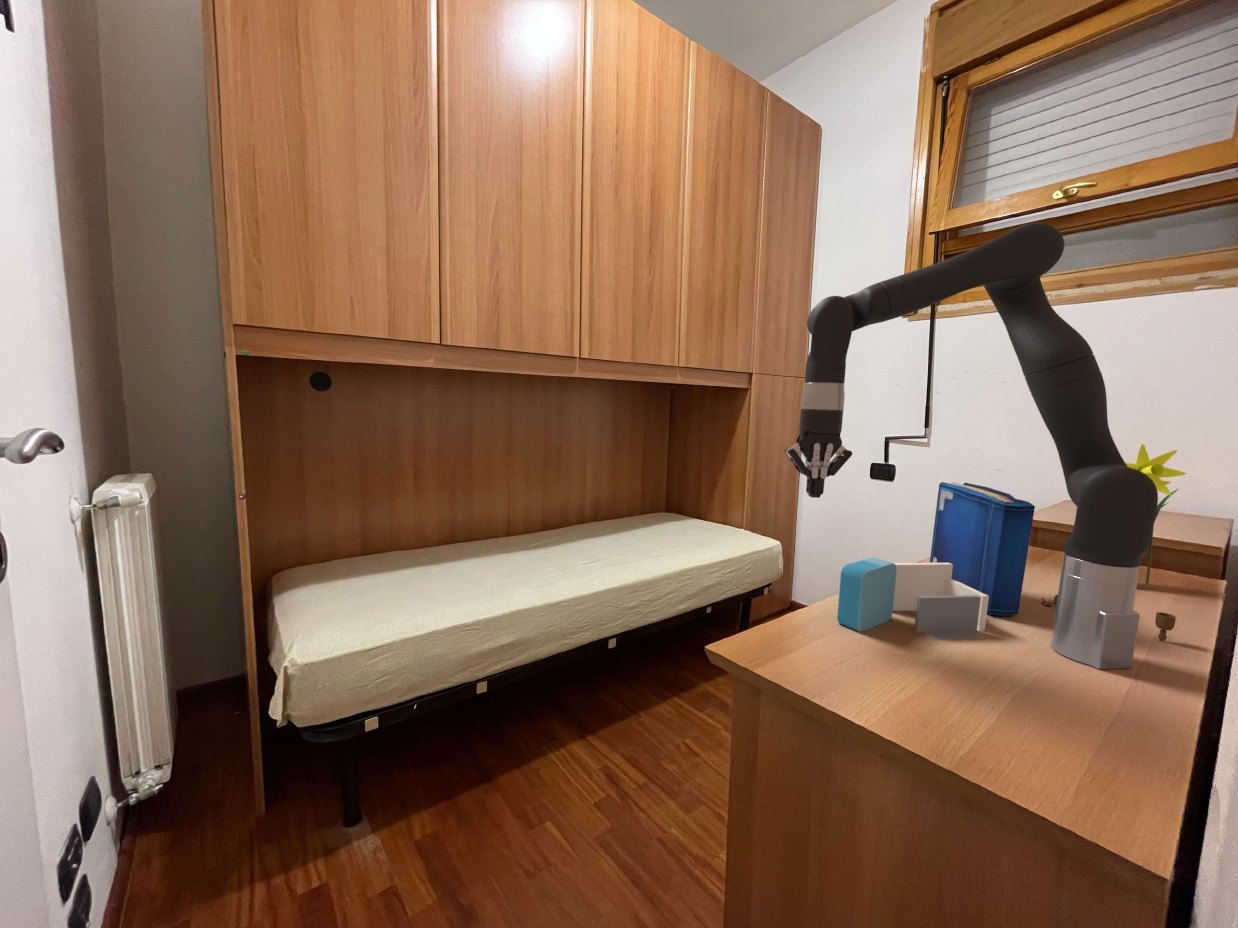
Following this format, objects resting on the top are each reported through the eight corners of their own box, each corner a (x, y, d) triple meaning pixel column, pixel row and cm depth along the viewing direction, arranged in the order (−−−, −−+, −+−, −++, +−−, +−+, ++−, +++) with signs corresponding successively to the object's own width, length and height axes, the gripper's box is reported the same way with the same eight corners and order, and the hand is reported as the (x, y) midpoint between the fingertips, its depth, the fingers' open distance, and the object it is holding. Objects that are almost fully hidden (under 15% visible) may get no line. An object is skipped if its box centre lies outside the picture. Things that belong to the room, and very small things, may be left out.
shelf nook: (999, 639, 90) (1006, 587, 89) (928, 641, 89) (933, 588, 88) (943, 607, 104) (948, 562, 103) (881, 608, 103) (885, 563, 102)
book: (1026, 620, 99) (1041, 499, 95) (990, 619, 99) (1005, 498, 96) (955, 581, 120) (966, 481, 117) (925, 581, 120) (936, 480, 117)
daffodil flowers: (1082, 568, 132) (1101, 439, 127) (1163, 584, 121) (1187, 443, 117) (1078, 584, 120) (1099, 442, 116) (1167, 602, 110) (1194, 447, 105)
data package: (870, 611, 102) (875, 555, 100) (892, 620, 98) (897, 562, 96) (836, 625, 95) (840, 565, 94) (858, 634, 91) (863, 572, 90)
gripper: (796, 406, 89) (789, 500, 91) (866, 409, 90) (857, 501, 92) (780, 406, 96) (774, 492, 99) (845, 408, 97) (837, 493, 100)
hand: (814, 496), depth 95 cm, fingers closed
